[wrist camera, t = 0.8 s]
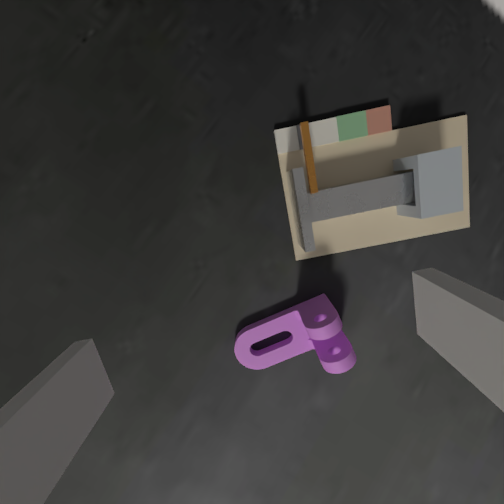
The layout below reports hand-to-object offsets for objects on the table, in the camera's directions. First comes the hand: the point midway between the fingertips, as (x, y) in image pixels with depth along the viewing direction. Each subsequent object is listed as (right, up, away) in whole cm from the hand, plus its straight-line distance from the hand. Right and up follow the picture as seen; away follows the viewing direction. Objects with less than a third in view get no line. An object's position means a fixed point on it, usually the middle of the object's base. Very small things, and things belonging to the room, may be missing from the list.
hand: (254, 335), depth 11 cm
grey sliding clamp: (+11, +11, +19) cm, 24 cm away
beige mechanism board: (+13, +11, +19) cm, 26 cm away
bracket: (+4, -7, +24) cm, 25 cm away
